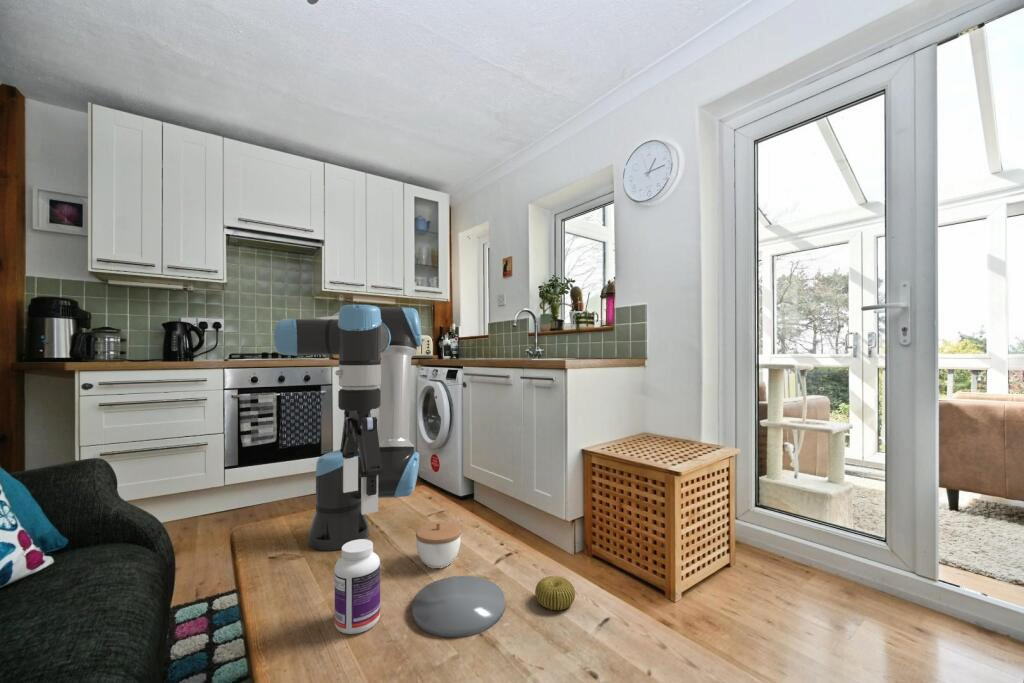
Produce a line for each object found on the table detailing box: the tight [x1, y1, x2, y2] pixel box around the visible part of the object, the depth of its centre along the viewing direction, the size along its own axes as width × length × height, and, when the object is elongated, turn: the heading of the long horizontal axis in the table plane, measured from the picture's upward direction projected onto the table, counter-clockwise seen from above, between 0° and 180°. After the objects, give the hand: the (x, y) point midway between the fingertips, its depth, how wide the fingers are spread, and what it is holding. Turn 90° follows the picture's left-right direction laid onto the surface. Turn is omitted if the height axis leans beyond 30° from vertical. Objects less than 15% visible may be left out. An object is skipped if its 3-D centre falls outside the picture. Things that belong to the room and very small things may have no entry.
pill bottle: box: [334, 538, 381, 635], centre depth 81 cm, size 8×8×14 cm
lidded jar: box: [415, 520, 462, 569], centre depth 104 cm, size 11×11×9 cm
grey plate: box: [411, 575, 506, 638], centre depth 86 cm, size 18×18×2 cm
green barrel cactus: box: [534, 575, 576, 611], centre depth 88 cm, size 8×4×8 cm
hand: (359, 501), depth 82 cm, fingers open, 13 cm apart
